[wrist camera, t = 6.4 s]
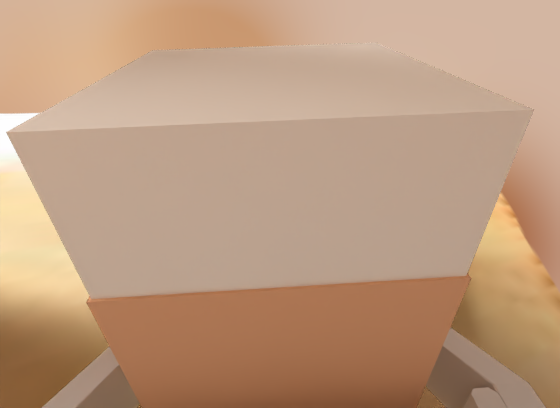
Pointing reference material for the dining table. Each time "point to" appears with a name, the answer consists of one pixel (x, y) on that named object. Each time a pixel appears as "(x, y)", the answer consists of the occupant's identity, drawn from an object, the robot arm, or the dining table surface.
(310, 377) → the juice carton
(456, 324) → the dining table surface
